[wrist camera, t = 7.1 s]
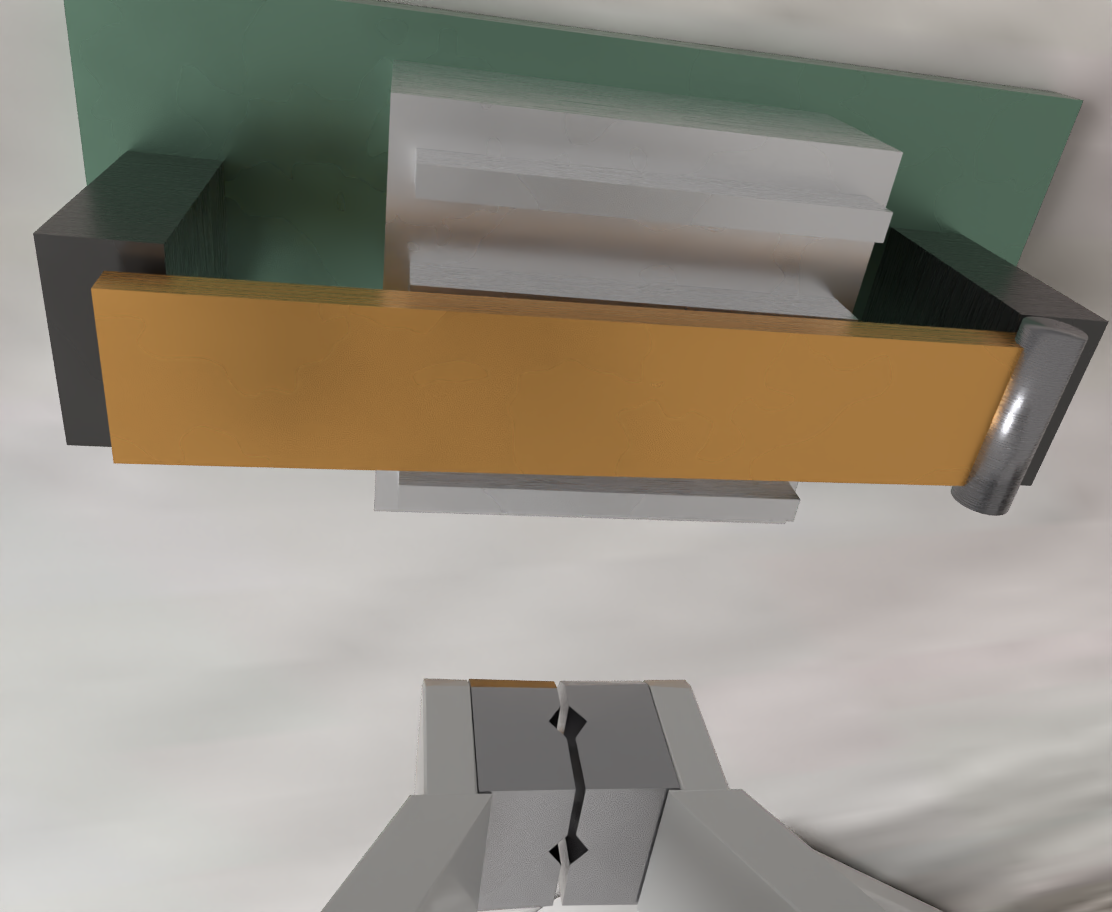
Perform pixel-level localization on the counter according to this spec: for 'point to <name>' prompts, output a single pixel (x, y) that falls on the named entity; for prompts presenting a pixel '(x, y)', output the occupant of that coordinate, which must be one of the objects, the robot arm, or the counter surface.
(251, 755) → the counter surface
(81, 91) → the heatsink mount
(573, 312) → the strap
